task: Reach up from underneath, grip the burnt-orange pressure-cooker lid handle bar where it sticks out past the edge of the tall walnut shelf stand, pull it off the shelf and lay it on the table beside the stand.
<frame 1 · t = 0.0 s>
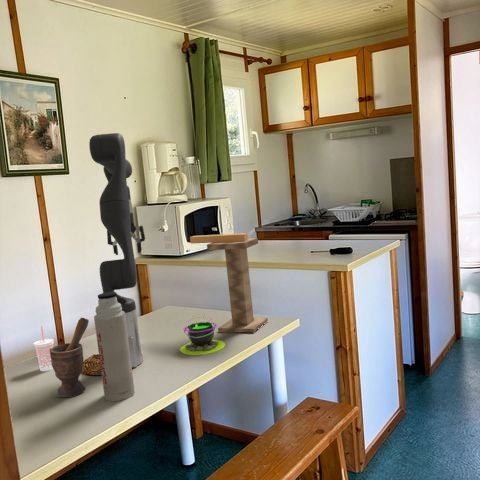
hand: (128, 253, 211), 29 cm above the table, tool pointing down, fingers open, 8 cm apart
shelf stand: (237, 326, 199), on the table
toy cauldron: (202, 348, 179), on the table
handle bar: (218, 241, 197), point 32 cm above the table, touching shelf stand
mortar and pestle: (76, 391, 151), on the table
thermos bottle: (119, 395, 145), on the table
beverage cup: (47, 369, 173), on the table
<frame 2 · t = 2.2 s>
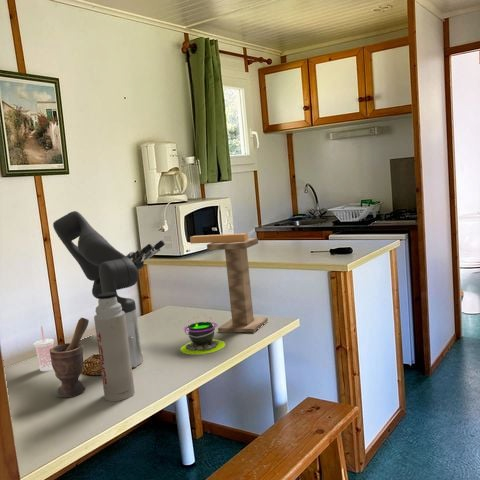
hand: (157, 244, 204), 33 cm above the table, tool pointing upward, fingers open, 8 cm apart
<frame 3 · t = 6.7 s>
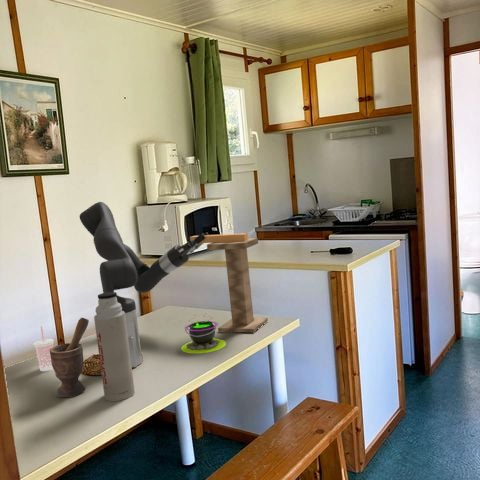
hand: (205, 235, 199), 35 cm above the table, tool pointing upward, fingers closed on handle bar, 3 cm apart
handle bar: (218, 241, 197), point 32 cm above the table, touching gripper, shelf stand
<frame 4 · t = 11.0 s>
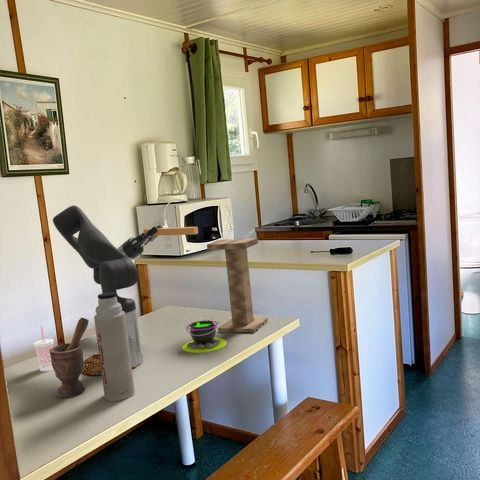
hand: (158, 227, 207), 38 cm above the table, tool pointing upward, fingers closed on handle bar, 3 cm apart
handle bar: (170, 234, 205), point 36 cm above the table, touching gripper
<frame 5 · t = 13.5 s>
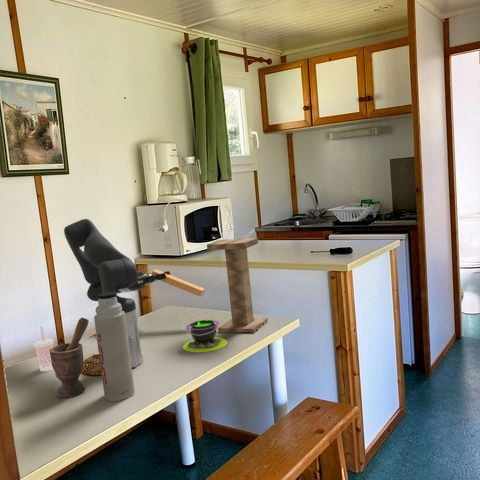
hand: (167, 274, 210), 20 cm above the table, tool horizontal, fingers closed on handle bar, 3 cm apart
handle bar: (176, 285, 209), point 15 cm above the table, tilted 22°, touching gripper
when the fingers open (12 cm above the table, at t = 15.6 s): handle bar drops 7 cm, on the table.
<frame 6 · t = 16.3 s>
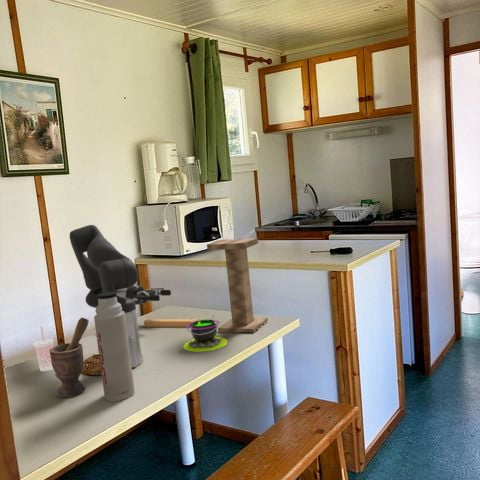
hand: (165, 295, 210), 12 cm above the table, tool horizontal, fingers open, 8 cm apart
handle bar: (171, 326, 210), on the table
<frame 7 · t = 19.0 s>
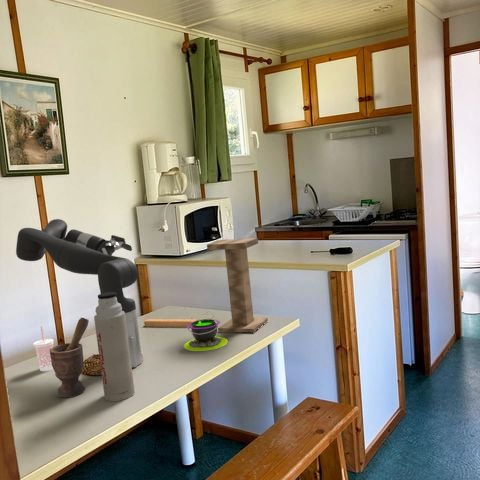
hand: (125, 256, 210), 28 cm above the table, tool tilted 70°, fingers open, 8 cm apart
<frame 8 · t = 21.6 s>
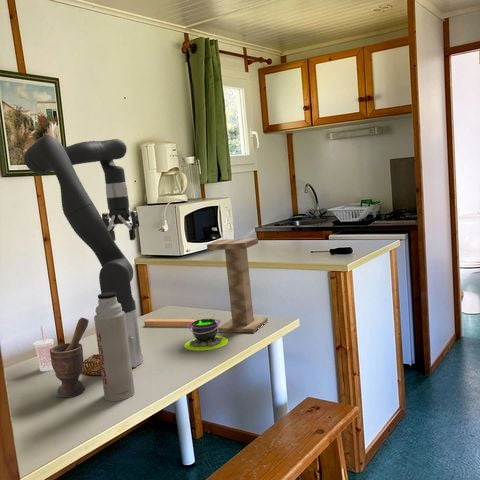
hand: (122, 240, 195), 36 cm above the table, tool pointing down, fingers open, 8 cm apart
at the end: handle bar inside the target area (1.6 cm from its centre), on the table; the gripper is holding nothing; handle bar touching table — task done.
